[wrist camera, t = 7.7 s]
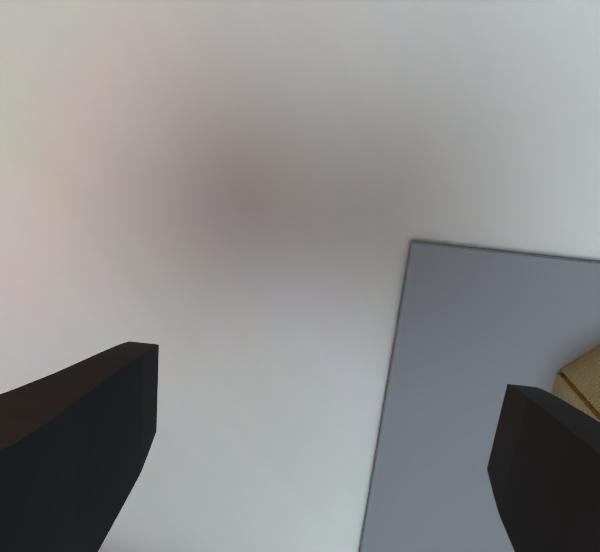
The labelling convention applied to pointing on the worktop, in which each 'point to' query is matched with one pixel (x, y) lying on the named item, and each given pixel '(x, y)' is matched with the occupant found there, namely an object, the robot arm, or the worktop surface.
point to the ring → (581, 383)
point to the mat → (467, 386)
